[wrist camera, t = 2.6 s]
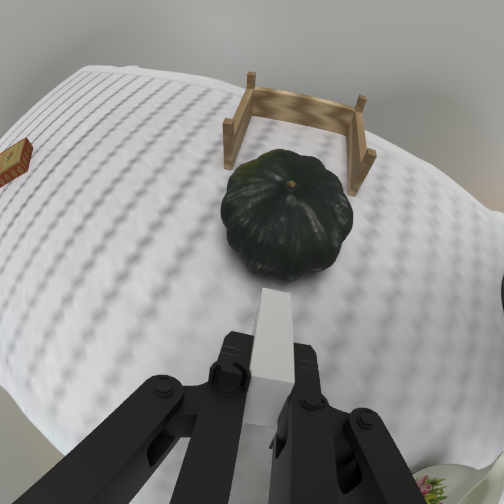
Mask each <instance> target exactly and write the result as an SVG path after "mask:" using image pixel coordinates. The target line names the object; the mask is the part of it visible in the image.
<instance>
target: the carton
mask: <svg viewBox="0 0 504 504" xmlns="http://www.w3.org/2000/svg"><path fill="white" fill-rule="evenodd" d="M32 151H33V147H32V145H31V143H30V142H29V140H28V139H27V138H24V139H22V140H21V141H19V142H17V143H16V144H14V145H13V146H11V147H9V148H8V149H7V150H5V151H3V152H2V153H0V188H1V187H2V186H4V185H5V184H7V183H8V182H10V181H12V180H13V179H15V178H17V177H19V176H20V175H22V174H24V173H25V172H27V171H28V167H29V163H30V159H31V155H32Z"/></svg>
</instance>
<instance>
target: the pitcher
mask: <svg viewBox="0 0 504 504" xmlns="http://www.w3.org/2000/svg"><path fill="white" fill-rule="evenodd" d="M412 475H413V477H414V479H415V481H416V483H417V485H418V486H419V488H420V490H421V492H422V494H423V496H424V498H425V500H426V502H427V504H498V503H499V501H500V498H501V496H502V493H503V490H504V451H503V452H502V453H501V454H500V455H499V456H498V457H497V459H496V460H495V461H494V462H493V463H492V464H491V465H489V466H487V467H485V468H482V469H479V470H476V469H475V468H472V467H469V466H465V465H459V464H442V465H436V466H431V467H428V468H425V469H422V470H420V471H418V472H416V473H414V474H412Z"/></svg>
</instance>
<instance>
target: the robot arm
mask: <svg viewBox="0 0 504 504" xmlns="http://www.w3.org/2000/svg"><path fill="white" fill-rule="evenodd" d="M502 301H503V307H504V277H503V282H502ZM277 422H278V426H277V432H276V434H275V436H274V438H273V440H272V442H271V444H270V447H269V449H272V447H273V455H272V468H271V480H270V491H269V502H268V504H427V502H426V500H425V498H424V496H423V494H422V492H421V490H420V488H419V486H418V485H417V483H416V481H415V479H414V477H413V475H412V473H411V471H410V470H409V468H408V466H407V464H406V462H405V460H404V459H403V457H402V455H401V453H400V451H399V449H398V448H397V446H396V444H395V442H394V440H393V439H392V437H391V435H390V433H389V432H388V430H387V428H386V426H385V424H384V423H383V421H382V419H381V418H380V416H379V415H378V414H377V413H376V412H374V411H373V410H371V409H368V408H357V409H354V410H353V411H352V412H351V413H350V414H349V413H346V412H343V411H340V410H337V409H335V408H333V407H331V406H330V405H329V403H328V401H327V399H326V398H325V397H324V396H323V395H322V394H321V386H320V379H319V371H318V364H317V356H316V352H315V351H314V350H313V348H312V347H311V345H305V344H299V343H293V323H292V304H291V293H287V292H282V291H277V290H272V289H267V288H263V289H262V293H261V298H260V302H259V306H258V311H257V315H256V319H255V323H254V328H253V333H252V335H248V334H243V333H238V332H234V331H231V332H230V333H229V334H228V335H226V336H225V338H224V341H223V345H222V348H221V351H220V354H219V357H218V360H217V361H216V362H215V363H213V364H212V366H211V367H210V372H209V379H208V382H206V383H204V384H202V385H198V386H182V384H181V383H180V381H178V380H177V379H175V378H174V377H171V376H168V375H155V376H152V377H150V378H149V379H147V380H146V381H145V382H144V383H143V384H142V385H141V386H140V387H139V388H138V389H137V390H136V391H135V392H133V393H132V394H131V395H130V396H129V397H128V398H127V399H126V400H125V401H124V402H123V403H122V404H121V405H120V406H119V407H118V408H117V409H116V410H115V411H113V412H112V413H111V414H110V415H109V416H108V417H107V418H106V419H105V420H104V421H103V422H102V423H101V424H100V425H99V426H98V427H96V428H95V429H94V430H93V431H92V432H91V433H90V434H89V435H88V436H87V437H86V438H85V439H84V440H82V441H81V442H80V443H79V444H78V445H77V446H76V447H75V448H74V449H73V450H72V451H70V452H69V453H68V454H67V455H66V456H65V457H64V458H63V459H62V460H61V461H60V462H58V463H57V464H56V465H55V466H54V467H53V468H52V469H51V470H50V471H48V472H47V473H46V474H45V475H44V476H43V477H42V478H41V479H40V480H38V481H37V482H36V483H35V484H34V485H33V486H32V487H30V488H29V489H28V490H27V491H26V492H25V493H24V494H23V495H21V496H20V497H19V498H18V499H17V500H16V501H14V502H13V503H12V504H129V502H130V501H131V500H132V499H133V498H134V496H135V495H136V494H137V493H138V492H139V490H140V489H141V488H142V487H143V485H144V484H145V483H146V482H147V480H148V479H149V478H150V477H151V475H152V474H153V473H154V472H155V470H156V469H157V468H158V467H159V465H160V464H161V463H162V461H163V460H164V459H165V458H166V456H167V455H168V454H169V452H170V451H171V450H172V448H173V447H174V446H175V444H176V443H177V442H178V440H179V439H180V438H181V437H191V439H190V442H189V445H188V448H187V451H186V454H185V457H184V460H183V463H182V467H181V470H180V473H179V476H178V479H177V482H176V485H175V488H174V492H173V495H172V498H171V501H170V504H228V501H229V496H230V491H231V485H232V479H233V474H234V468H235V462H236V457H237V451H238V445H239V439H240V433H241V427H242V423H247V424H252V425H258V426H265V427H271V428H275V426H276V424H277Z"/></svg>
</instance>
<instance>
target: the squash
mask: <svg viewBox="0 0 504 504" xmlns="http://www.w3.org/2000/svg"><path fill="white" fill-rule="evenodd" d="M221 218H222V221H223V223H224V225H225V226H226V227H227V240H228V243H229V245H230V246H231V247H232V248H233V249H234V250H236V251H238V252H240V253H241V256H242V259H243V261H244V263H245V265H246V266H247V268H248V269H249V270H250V271H251V272H252V273H254V274H265V273H269V272H272V273H273V274H274V275H275V276H276V277H278V278H279V279H281V280H283V281H286V282H290V281H293V280H295V279H297V278H298V277H300V276H302V275H303V274H305V273H306V272H307V271H309V272H318V271H322V270H325V269H326V268H328V267H330V266H331V265H332V264H333V263H334V262H335V260H336V258H337V256H338V254H339V252H340V249H341V245H342V242H343V241H344V240H345V239H346V237H347V236H348V234H349V233H350V231H351V229H352V225H353V210H352V207H351V205H350V203H349V201H348V199H347V197H346V195H345V194H344V193H343V187H342V184H341V182H340V180H339V178H338V177H337V176H336V175H335V174H333V173H332V172H330V171H329V170H326V168H325V167H324V165H323V164H322V162H321V161H320V160H319V159H317V158H315V157H312V156H301V155H299V154H297V153H295V152H292V151H289V150H283V149H275V150H271V151H270V152H267V153H264V154H263V155H261V156H260V157H258V158H257V159H255V160H252V161H249V162H247V163H245V164H242V165H240V166H239V167H238V168H237V169H236V170H235V171H234V173H233V174H232V175H231V176H230V178H229V181H228V185H227V193H226V194H225V196H224V198H223V200H222V204H221Z"/></svg>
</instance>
